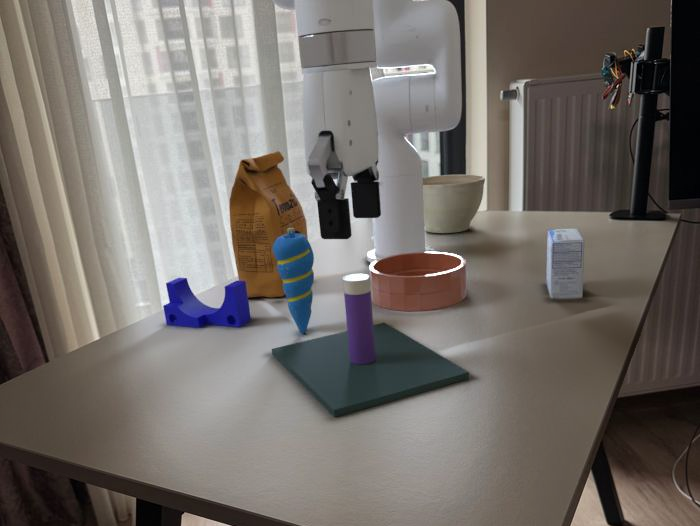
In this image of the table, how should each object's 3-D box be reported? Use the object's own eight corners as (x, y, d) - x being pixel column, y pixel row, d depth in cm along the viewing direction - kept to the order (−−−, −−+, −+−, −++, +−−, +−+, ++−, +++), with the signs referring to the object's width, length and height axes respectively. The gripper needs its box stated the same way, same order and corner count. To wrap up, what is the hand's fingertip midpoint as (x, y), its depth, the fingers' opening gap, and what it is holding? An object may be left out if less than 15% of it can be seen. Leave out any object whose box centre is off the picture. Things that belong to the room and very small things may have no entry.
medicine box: (582, 301, 91) (585, 240, 88) (549, 301, 92) (551, 241, 89) (576, 284, 98) (578, 227, 95) (545, 285, 99) (547, 229, 96)
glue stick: (345, 358, 76) (337, 276, 73) (369, 352, 78) (362, 271, 74) (356, 367, 74) (349, 282, 70) (380, 361, 75) (374, 277, 71)
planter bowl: (498, 230, 137) (498, 178, 133) (427, 241, 133) (425, 187, 129) (464, 219, 151) (464, 171, 147) (400, 228, 147) (397, 179, 143)
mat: (272, 354, 82) (271, 348, 81) (384, 327, 87) (384, 322, 87) (334, 417, 65) (333, 410, 64) (469, 378, 70) (469, 372, 70)
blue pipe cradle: (166, 324, 96) (159, 286, 94) (185, 315, 100) (178, 277, 98) (233, 330, 91) (227, 290, 89) (251, 320, 95) (245, 280, 93)
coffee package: (322, 281, 111) (309, 148, 103) (282, 304, 101) (264, 158, 93) (274, 278, 116) (258, 151, 108) (232, 299, 106) (210, 160, 98)
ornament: (292, 342, 85) (278, 229, 79) (278, 332, 89) (263, 223, 84) (327, 334, 87) (316, 222, 82) (312, 324, 91) (300, 217, 86)
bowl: (356, 297, 101) (353, 262, 99) (434, 280, 107) (433, 247, 104) (400, 321, 89) (398, 283, 87) (485, 301, 94) (485, 264, 92)
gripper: (334, 58, 72) (348, 211, 79) (264, 60, 58) (287, 247, 64) (399, 51, 70) (407, 210, 76) (342, 51, 55) (358, 248, 62)
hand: (352, 227), depth 70 cm, fingers open, 9 cm apart
